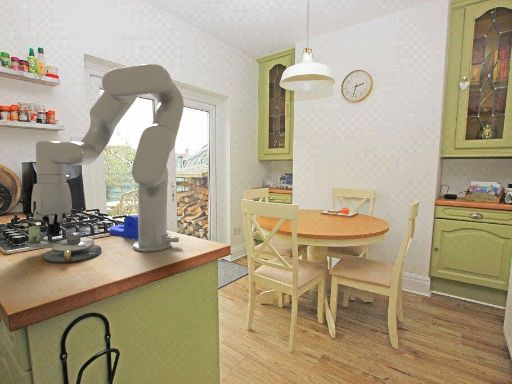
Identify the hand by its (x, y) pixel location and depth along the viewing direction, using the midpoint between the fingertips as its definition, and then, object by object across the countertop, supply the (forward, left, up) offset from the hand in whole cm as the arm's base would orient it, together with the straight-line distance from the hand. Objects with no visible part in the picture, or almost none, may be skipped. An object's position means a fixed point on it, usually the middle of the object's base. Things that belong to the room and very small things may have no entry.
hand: (54, 234), depth 90 cm
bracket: (-18, -18, -5) cm, 26 cm away
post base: (-9, +6, -5) cm, 12 cm away
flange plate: (-6, +6, -2) cm, 9 cm away
